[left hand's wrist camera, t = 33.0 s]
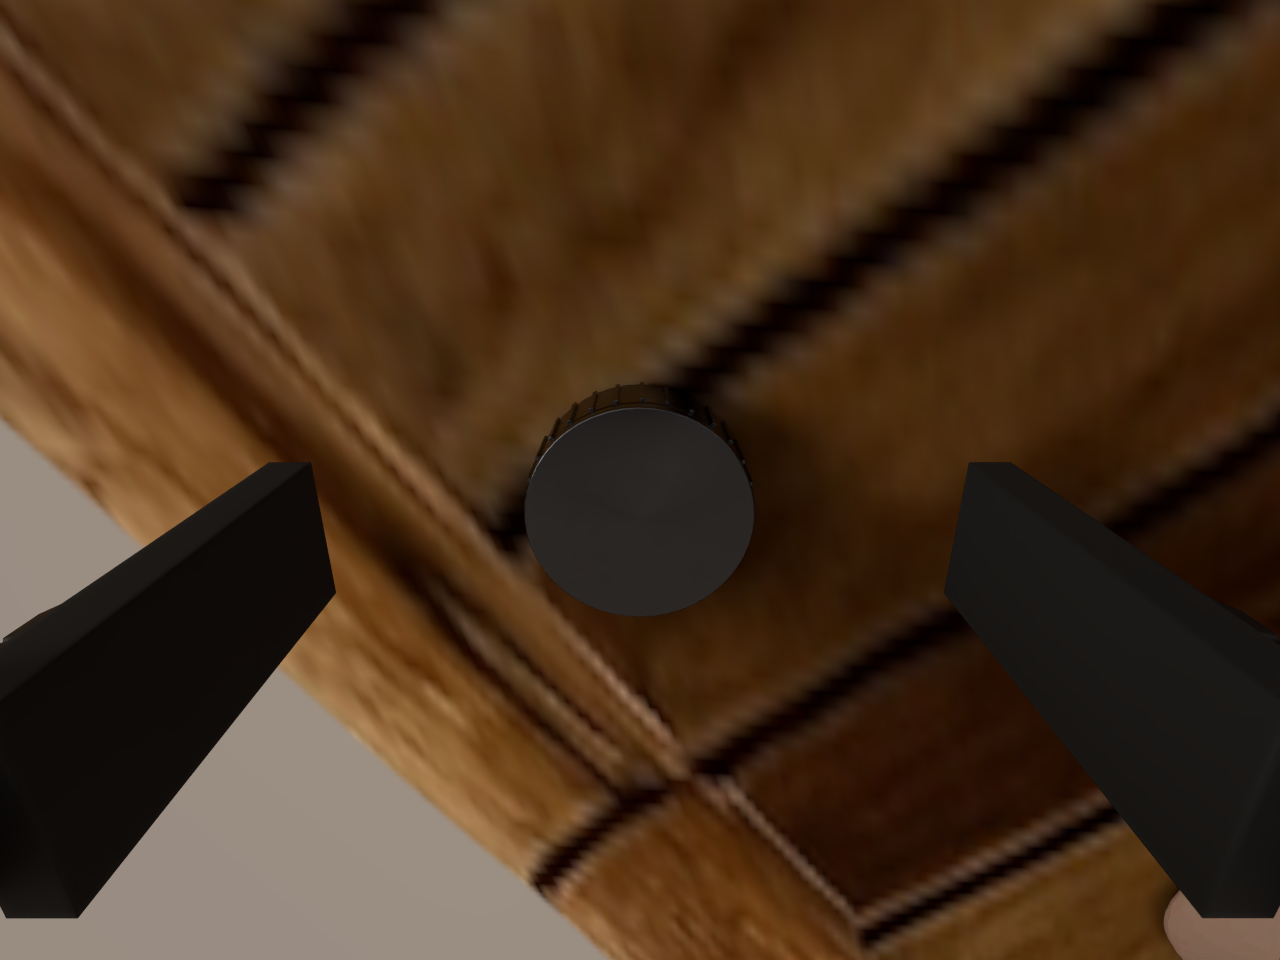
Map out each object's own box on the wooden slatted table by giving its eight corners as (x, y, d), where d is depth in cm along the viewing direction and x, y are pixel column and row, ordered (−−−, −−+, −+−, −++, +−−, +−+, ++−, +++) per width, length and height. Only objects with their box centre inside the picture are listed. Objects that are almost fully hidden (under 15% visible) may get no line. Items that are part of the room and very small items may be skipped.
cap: (555, 587, 16) (545, 632, 14) (514, 397, 14) (497, 422, 13) (752, 563, 16) (765, 605, 14) (734, 366, 14) (747, 387, 12)
